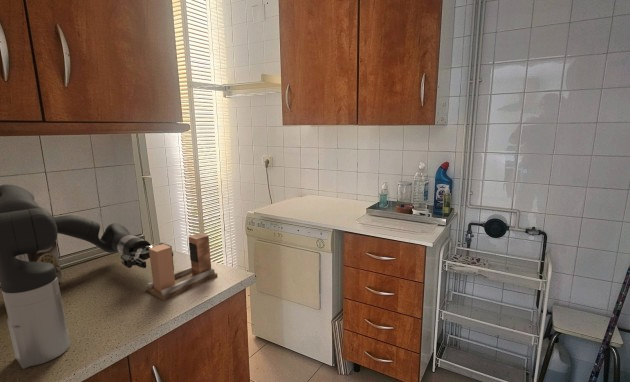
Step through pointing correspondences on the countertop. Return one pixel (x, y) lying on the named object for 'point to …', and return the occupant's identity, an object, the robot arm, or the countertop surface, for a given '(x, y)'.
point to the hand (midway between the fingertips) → (158, 260)
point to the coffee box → (45, 258)
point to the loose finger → (162, 267)
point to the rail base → (190, 269)
